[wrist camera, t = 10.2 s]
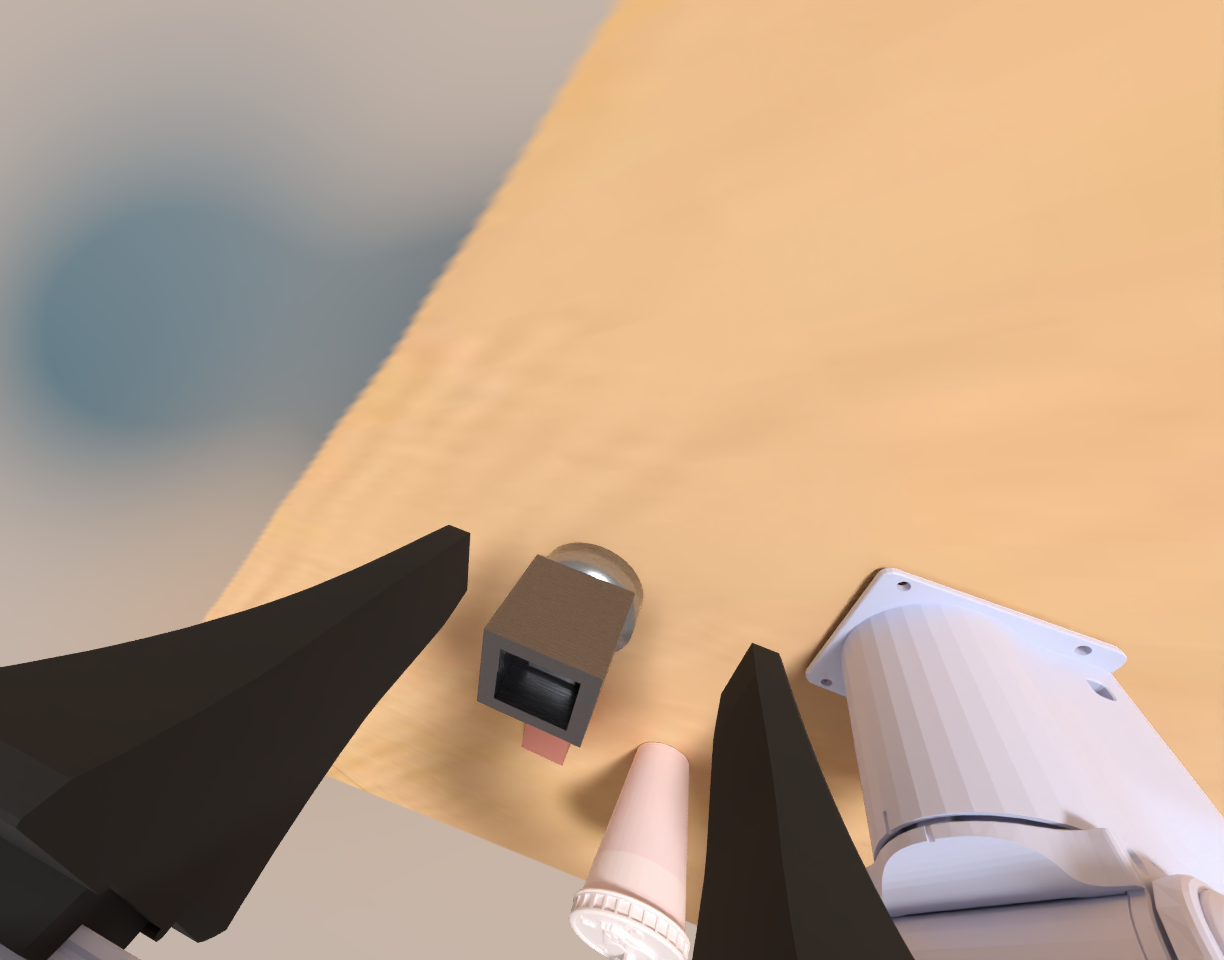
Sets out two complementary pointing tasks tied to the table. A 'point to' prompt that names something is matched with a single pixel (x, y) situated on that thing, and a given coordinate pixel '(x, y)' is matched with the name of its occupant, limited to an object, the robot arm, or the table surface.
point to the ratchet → (622, 575)
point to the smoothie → (641, 865)
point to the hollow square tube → (552, 647)
